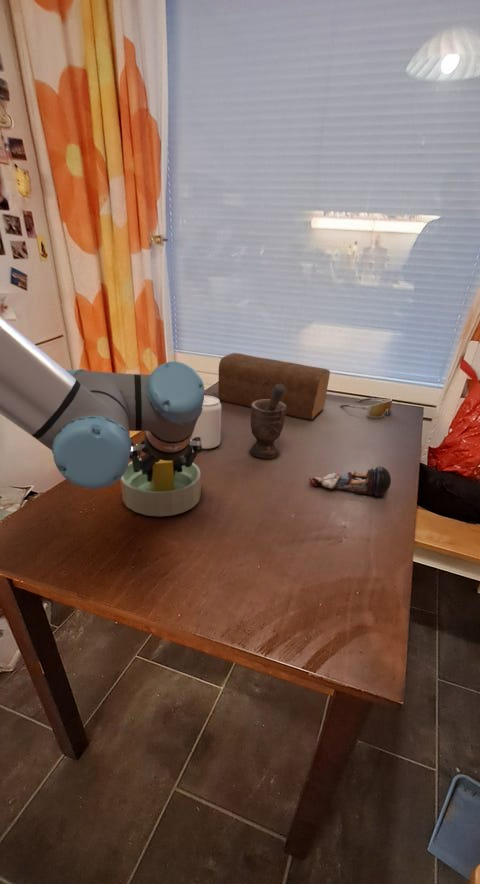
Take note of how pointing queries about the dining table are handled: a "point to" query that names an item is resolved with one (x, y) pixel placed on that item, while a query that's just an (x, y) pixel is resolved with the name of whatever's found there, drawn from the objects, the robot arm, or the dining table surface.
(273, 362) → the bread
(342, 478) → the figurine
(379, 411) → the sunglasses
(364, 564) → the dining table surface
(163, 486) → the sponge
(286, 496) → the dining table surface
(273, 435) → the mortar and pestle
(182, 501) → the bowl
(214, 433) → the beverage can
